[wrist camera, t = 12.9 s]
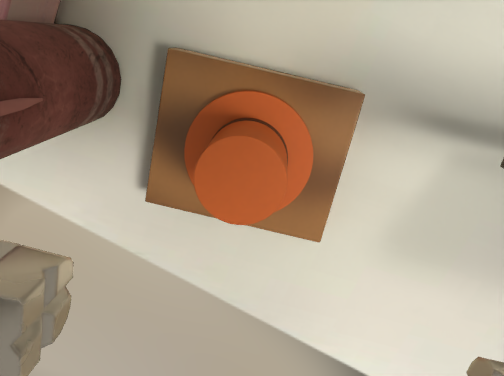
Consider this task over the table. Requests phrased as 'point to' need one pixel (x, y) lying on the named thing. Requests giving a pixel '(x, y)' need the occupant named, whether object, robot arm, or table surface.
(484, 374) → the robot arm
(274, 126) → the hat
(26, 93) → the can
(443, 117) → the table surface
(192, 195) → the brown wooden slab
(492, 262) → the table surface
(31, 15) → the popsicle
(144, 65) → the table surface
